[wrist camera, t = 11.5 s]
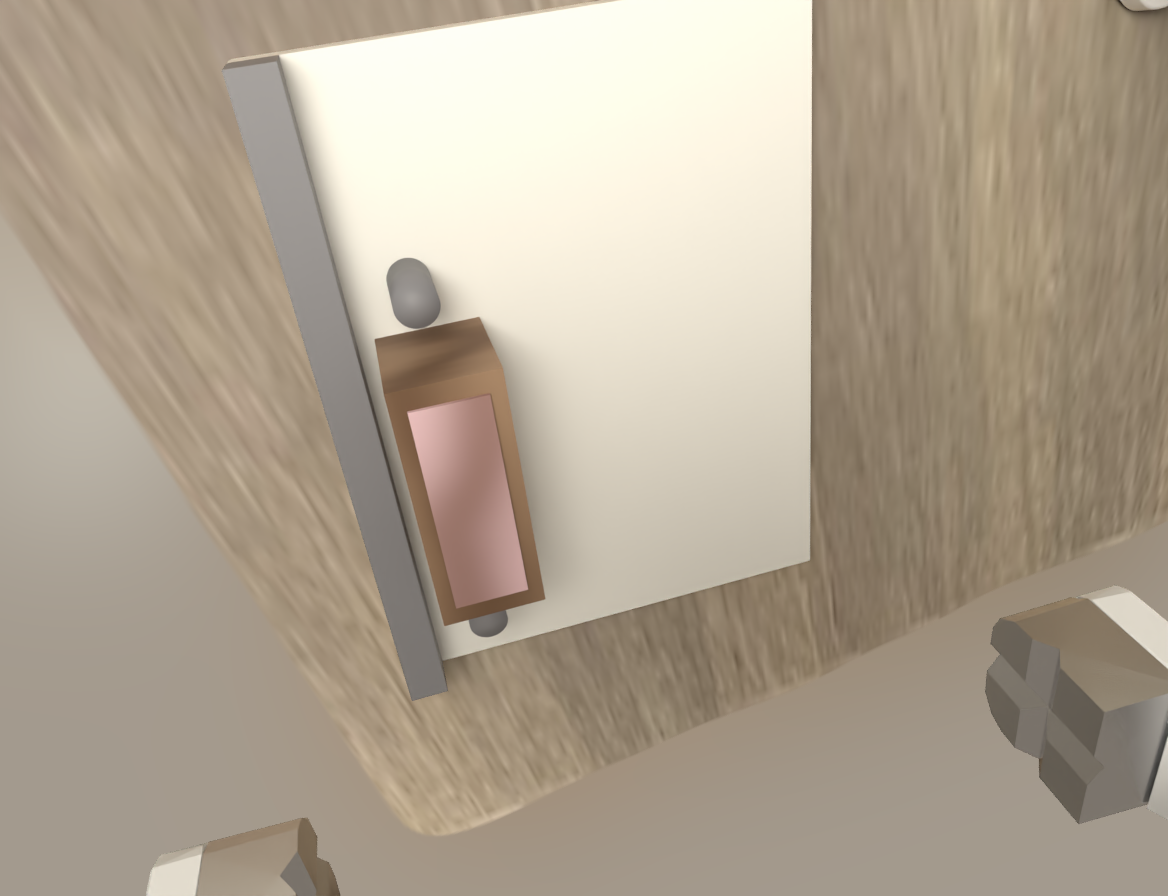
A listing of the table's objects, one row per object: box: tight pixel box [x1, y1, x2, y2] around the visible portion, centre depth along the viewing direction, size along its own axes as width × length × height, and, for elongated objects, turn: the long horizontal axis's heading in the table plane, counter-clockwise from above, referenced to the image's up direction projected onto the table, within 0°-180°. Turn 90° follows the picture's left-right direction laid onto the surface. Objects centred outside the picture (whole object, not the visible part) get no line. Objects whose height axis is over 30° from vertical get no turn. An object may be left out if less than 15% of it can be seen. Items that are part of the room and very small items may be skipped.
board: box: [222, 0, 812, 701], centre depth 36 cm, size 20×26×4 cm
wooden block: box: [375, 317, 545, 626], centre depth 35 cm, size 4×10×5 cm, turn 7°
